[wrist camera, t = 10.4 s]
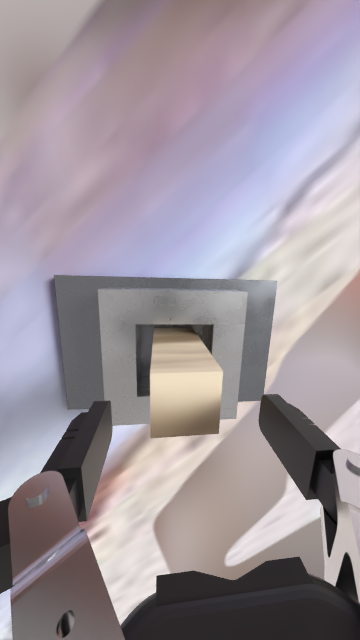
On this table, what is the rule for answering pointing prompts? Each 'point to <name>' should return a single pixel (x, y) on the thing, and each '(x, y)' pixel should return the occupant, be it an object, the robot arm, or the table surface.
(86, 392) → the square peg board
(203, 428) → the wooden square peg
